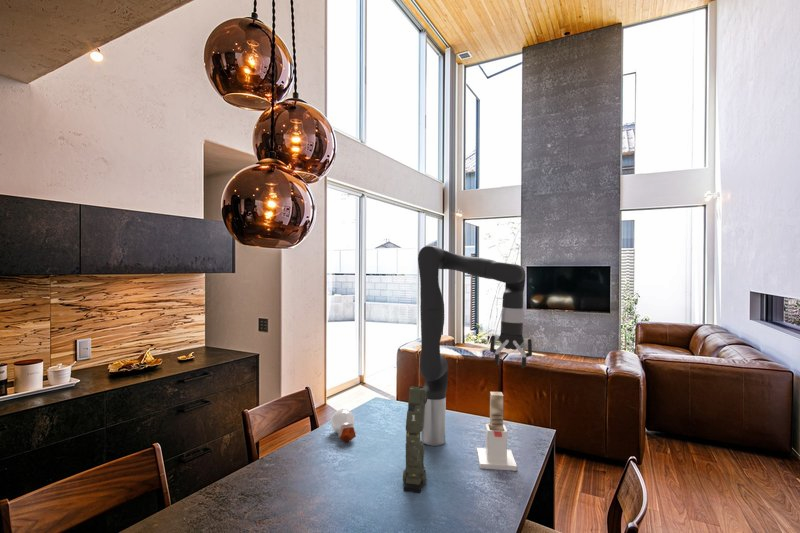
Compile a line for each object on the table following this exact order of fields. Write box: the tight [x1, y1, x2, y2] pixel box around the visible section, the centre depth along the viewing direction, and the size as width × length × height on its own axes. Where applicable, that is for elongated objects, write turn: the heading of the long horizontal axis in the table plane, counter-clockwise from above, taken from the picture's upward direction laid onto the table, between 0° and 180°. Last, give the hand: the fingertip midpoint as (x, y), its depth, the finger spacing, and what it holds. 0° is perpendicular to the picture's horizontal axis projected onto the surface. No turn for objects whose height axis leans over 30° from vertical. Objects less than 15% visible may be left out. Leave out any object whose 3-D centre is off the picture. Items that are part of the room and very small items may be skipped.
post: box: [489, 391, 504, 431], centre depth 137 cm, size 4×4×22 cm
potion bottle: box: [330, 408, 357, 444], centre depth 156 cm, size 9×10×15 cm
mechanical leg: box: [402, 385, 427, 494], centre depth 124 cm, size 14×7×30 cm, turn 169°
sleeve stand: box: [476, 423, 518, 472], centre depth 137 cm, size 12×12×12 cm
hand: (510, 366), depth 140 cm, fingers open, 8 cm apart
